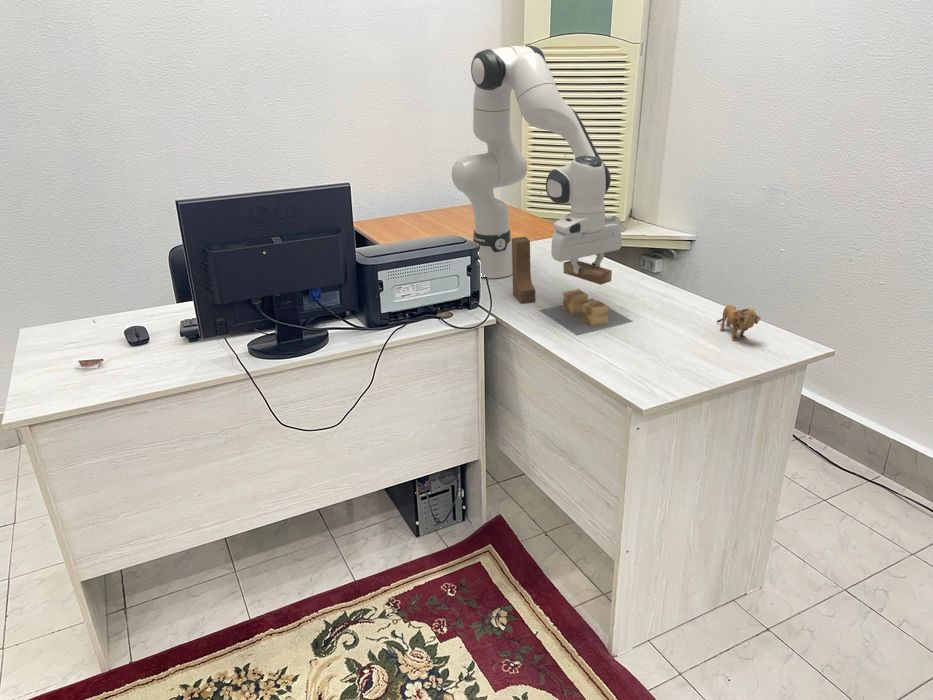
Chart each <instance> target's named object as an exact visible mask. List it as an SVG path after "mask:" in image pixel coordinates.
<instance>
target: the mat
mask: <svg viewBox="0 0 933 700" xmlns="http://www.w3.org/2000/svg"><path fill="white" fill-rule="evenodd" d="M592 301H597V300H596V299H594V298H592V297H591V298H588V302H592ZM538 311H539V312H541V313H542V314H544V315H545V316H547V317H548V318H549V319H551V320H553V321H554V322H555V323H557V324H559V325H560V326H562V327H563V328H565V329H566V330H568V332H570V333H572V334H574V335H575V336H580V335H585V334H588V333H592V332H596V331H600V330H605V329H609V328H613V327H616V326H620V325H624V324H628V323H632V322H634V321H633V320H632V319H630V318H628V317H627V316H624V315H623V314H621V313H619V312H618V311H615V310H613V308H611V307H609V310H608V323H606V324H602V325H598V326H594V327H592V326H590V325H588V324H587V323H585V322H584V321H582V312H581V313H577V314H573V315H572V314H571V313H569V312H568V311H566V310H564V309H563V304H561V305H557V306H552V307H548V308H545V309H544V308H543V309H540V310H538Z"/></svg>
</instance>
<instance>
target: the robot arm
mask: <svg viewBox="0 0 933 700" xmlns="http://www.w3.org/2000/svg"><path fill="white" fill-rule="evenodd" d="M546 61H547V60H546V58H545V55H544V52H543V50H542V49H541V48H539V47H538V46H534V45H530V44H529V45H528V44H527V45H506V46H505V47H504V46H503V47H497V48H493V49H490V48H488V49H483V50H481V51H478V52H477V53H476V54H475V55H474V56H473V58H472V61H471V65H470V73H471V75H470V76H471V79H472V81H473V83H474V85H475V87H474V93H473V109H472V110H473V114H472V115H473V116H472V117H473V118H472V119H473V120H472V121H473V124H472V126H473V127H472V131H473V134H474V135H475V137H476V139H478V140H479V141H480V142H483V143H485V144H486V146H487V152H486V153H479V154H472V155H468V156H465V157H463V158H460V159H457V160H456V161H455V162H454V164H453V165H452V169H451V180H452V183H453V185H454V186H455V188H457V190H459V191H460V192H462V193H463V194H464V195H466V197H467V198H468V200H469V202H470V204H471V206H472V209H473V218H474V229H473V230H472V232H473V236H472V242H475V243H478V244H479V245H480V250H479V258H480V261H481V273H482V279H484V278H483V277H484V275H485V276H486V277H487V278H486V279H500V278H505V277H509V276H512V275H513V274H512V242H511V241H512V238H511V235H512V234H511V229H510V224H509V216H510V215H509V207H508V206H507V204H506V203H505V202H504V201H503V200H500V199H498V198H496V197H495V194H494V189H497V188H503V187H508V186H512V185H514V184H516V183H519V182H521V181H522V180H524V179H525V177H526V176H527V172H528V162H527V160H526V159H527V158H526V157H525V155H524V154H523V153H522V152H521V151H519V150H518V149H517V148H516V146H515V145H514V142H513V140H512V137H511V123H510V121H511V92H512V90H513V92H514V95H515V98H516V101H517V104H518V107H519V110H520V113H521V116H522V117H523V119H524V120H525V121H526V123H528V124H529V125H530V126H532V127H534V128H536V129H540V130H543V131H548V132H552V133H553V134H557V135H559V136H561V137H563V139H565V141H566V142H567V144H568V145H569V147H570V150H571V151H572V154H573V156H574V159H573V160H572V162H570V163H568V164H566V165H564V166H560V167H557V168H554V169H552V170H551V171H550V172H549V173H548V174H547V178H546V181H545V191H546V195H547V196H548V198H549V200H551V201H552V202H553V203H555V204H558V205H559V204H560V205H561V204H562V205H563V204H564V205H565V204H569V205H570V206H571V207H570V213H568V214H566V215H565V216H563V217H562V218H559V219H558V220H557V221H554V223H553V229H554V230H555V231H554V233H553V235H552V239H551V257H552V258H553V259H554V260H555V261H557V262H560V263H561V262H567V261H570V262H571V264H572V265H573V266H574V269H573V271H574V273H575V274H578V273H581V272H582V271H581V270H582V267H580V266H578V264H577V262H578V261H579V259H581V258H585V257H590V256H596V258H595V260H594V261H593V262H591V264H592V265H595V266H598V267H601V263H602V261H603V259H604V258H605V254H606V253H610V252H615V251H619V250H620V249H621V248H622V245H623V243H622V242H623V240H622V230H621V227H622V226H621V223H622V221H621V219H620V218H619V217H617V215H611V216H606V207H605V203H604V202H605V200H604V199H605V196H606V194H607V192H608V190H609V189H610V185H611V183H612V182H611V181H612V180H611V179H612V177H611V173H610V171H609V168H608V166H607V165H606V164H605V162H604V161H603V160H602V158H601V157H600V155H599V153H598V152H597V149H596V147H595V145H594V143H593V142H592V140H591V138H590V135H589V133H588V132H587V130H586V128H585V126H584V124H583V122H582V120H581V117H579V115H578V113H577V112H576V111H575V109H573V108H572V107H570V106H569V105H568V104H567V102H566V101H565V100H564V99H563V97H562V95H561V94H560V92H559V89H558V87H557V85H556V81H555V79H554V77H553V74H552V72H551V71H550V70H551V69H550V68H549V66H548V64H547V62H546ZM605 216H606V217H605Z"/></svg>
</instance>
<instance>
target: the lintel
mask: <svg viewBox="0 0 933 700" xmlns="http://www.w3.org/2000/svg"><path fill="white" fill-rule="evenodd" d="M577 264H578V266H580V267H582V270H581V271H582V272H581V273H578V274H575V273H574V271H573V269H574V266H573V265H572V264H571V262H570V260H567V261H563V274H566V275H569V276H573V277H576V278H578V279H582V280H585V281H587V282H588V281H589V282H591V283H594V284H596V285H604V284H608V283H610V282H612V272H613V270H612V269H608V268H606V267H605V268H604V267H602V266H600V267H598V266H595V265H592V263H587V262H584V261H581V260H578V262H577Z"/></svg>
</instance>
